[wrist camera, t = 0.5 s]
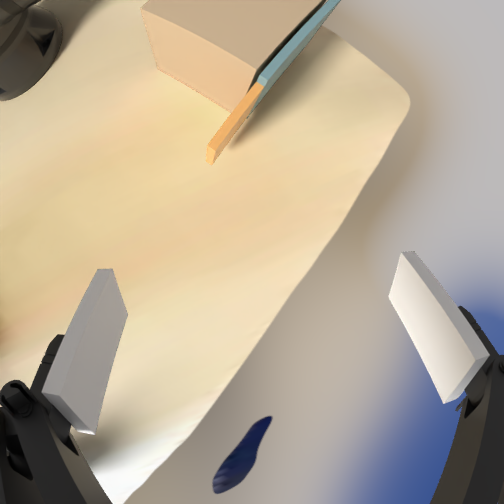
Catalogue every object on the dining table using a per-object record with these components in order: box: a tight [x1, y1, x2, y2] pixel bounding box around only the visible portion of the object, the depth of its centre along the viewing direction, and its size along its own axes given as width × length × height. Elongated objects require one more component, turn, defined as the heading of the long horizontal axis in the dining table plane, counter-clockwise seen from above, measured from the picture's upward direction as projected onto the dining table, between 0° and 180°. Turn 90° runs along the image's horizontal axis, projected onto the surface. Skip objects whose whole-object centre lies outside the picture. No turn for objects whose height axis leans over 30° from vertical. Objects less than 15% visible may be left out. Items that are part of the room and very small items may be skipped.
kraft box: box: [140, 0, 326, 113], centre depth 26 cm, size 12×14×14 cm
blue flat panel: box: [206, 0, 341, 165], centre depth 27 cm, size 1×21×12 cm, turn 145°
